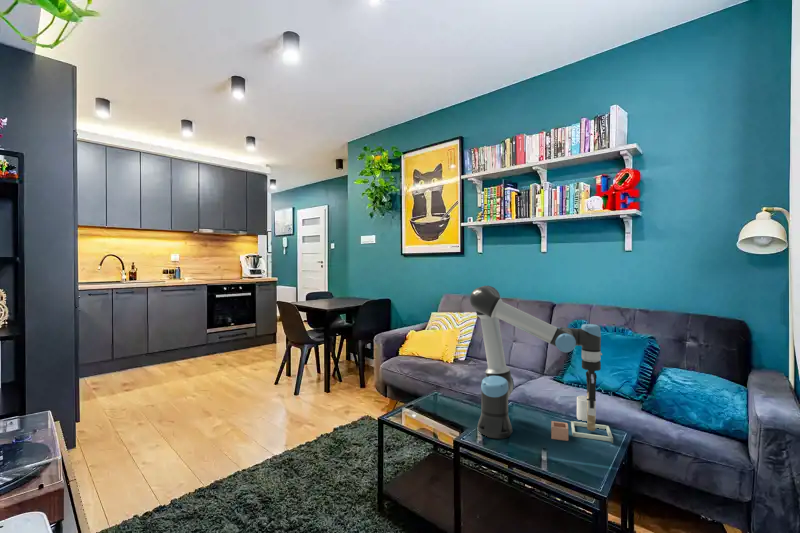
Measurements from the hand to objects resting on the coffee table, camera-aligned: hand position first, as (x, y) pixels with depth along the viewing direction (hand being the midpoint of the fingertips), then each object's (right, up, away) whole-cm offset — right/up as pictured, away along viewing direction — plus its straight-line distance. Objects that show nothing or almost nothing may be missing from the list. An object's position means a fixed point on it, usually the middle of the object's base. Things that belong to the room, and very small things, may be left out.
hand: (591, 413), depth 174 cm
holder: (-15, -9, -4) cm, 18 cm away
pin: (0, -7, 0) cm, 7 cm away
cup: (+6, -9, +15) cm, 19 cm away
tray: (0, -9, 0) cm, 9 cm away
